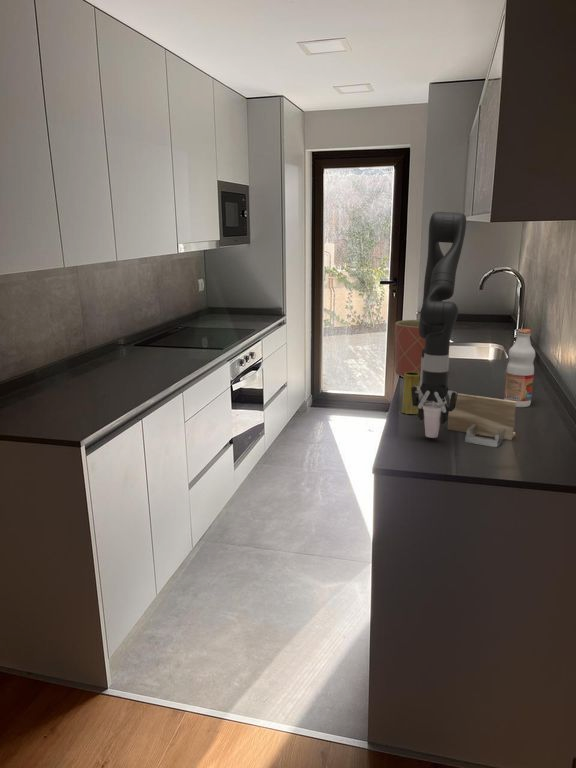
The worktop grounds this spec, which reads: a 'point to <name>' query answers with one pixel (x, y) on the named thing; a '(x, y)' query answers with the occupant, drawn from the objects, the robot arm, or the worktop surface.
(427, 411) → the smoothie
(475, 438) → the white u-shaped frame
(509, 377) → the fruit juice
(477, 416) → the wall board
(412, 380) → the vase
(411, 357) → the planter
